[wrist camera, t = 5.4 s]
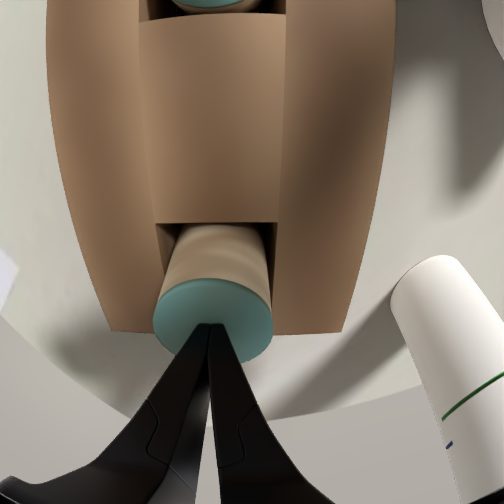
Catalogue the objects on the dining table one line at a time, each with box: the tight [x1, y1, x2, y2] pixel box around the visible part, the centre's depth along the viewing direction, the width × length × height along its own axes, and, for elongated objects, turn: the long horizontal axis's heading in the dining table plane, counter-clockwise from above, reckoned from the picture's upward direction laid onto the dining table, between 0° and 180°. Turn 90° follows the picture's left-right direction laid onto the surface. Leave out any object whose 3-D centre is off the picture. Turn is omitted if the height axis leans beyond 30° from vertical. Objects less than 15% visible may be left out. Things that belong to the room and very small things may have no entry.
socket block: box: [46, 0, 396, 335], centre depth 12 cm, size 12×20×6 cm, turn 179°
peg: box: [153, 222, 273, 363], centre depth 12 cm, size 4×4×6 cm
